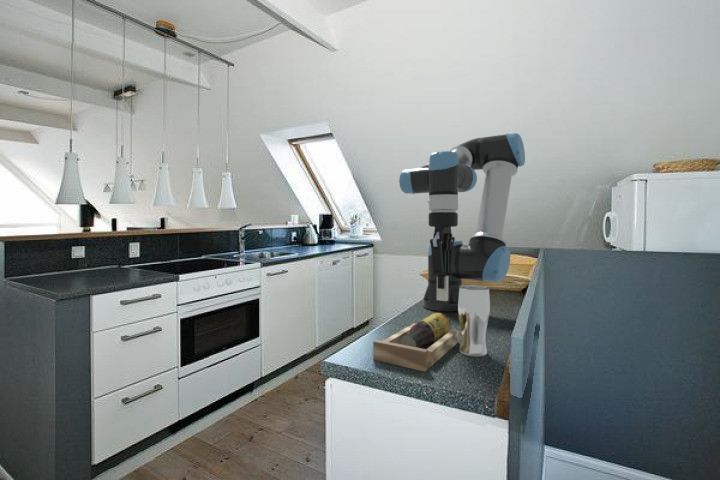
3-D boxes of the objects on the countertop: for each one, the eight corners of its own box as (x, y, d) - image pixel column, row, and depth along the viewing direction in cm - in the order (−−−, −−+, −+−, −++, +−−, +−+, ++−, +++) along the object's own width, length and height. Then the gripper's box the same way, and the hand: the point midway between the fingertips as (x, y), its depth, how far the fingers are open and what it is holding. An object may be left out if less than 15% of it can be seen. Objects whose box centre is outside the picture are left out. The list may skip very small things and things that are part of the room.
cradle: (413, 334, 99) (413, 319, 99) (458, 342, 93) (458, 326, 92) (373, 359, 81) (373, 341, 81) (425, 371, 74) (425, 351, 74)
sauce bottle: (454, 333, 97) (425, 360, 80) (432, 335, 100) (400, 363, 83) (448, 308, 97) (417, 330, 80) (426, 311, 100) (392, 334, 84)
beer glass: (485, 359, 81) (486, 291, 80) (453, 354, 84) (454, 288, 84) (491, 350, 87) (492, 286, 86) (461, 345, 90) (462, 284, 90)
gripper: (438, 212, 106) (437, 294, 107) (420, 211, 95) (419, 303, 96) (464, 211, 102) (463, 297, 103) (449, 211, 91) (448, 306, 92)
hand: (442, 300), depth 100 cm, fingers closed
